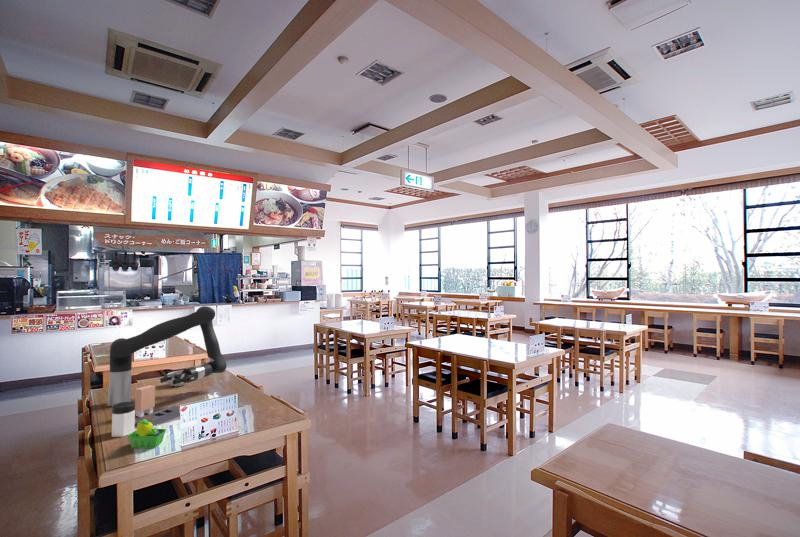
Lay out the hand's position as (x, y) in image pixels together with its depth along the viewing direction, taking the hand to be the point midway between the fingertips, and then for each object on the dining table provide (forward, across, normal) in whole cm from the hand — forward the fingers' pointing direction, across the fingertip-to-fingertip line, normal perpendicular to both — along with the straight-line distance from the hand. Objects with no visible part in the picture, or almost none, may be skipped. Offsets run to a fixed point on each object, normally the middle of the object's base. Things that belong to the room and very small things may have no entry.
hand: (167, 381), depth 201 cm
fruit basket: (+35, +32, +13) cm, 49 cm away
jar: (+30, +11, +13) cm, 35 cm away
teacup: (-32, -29, +13) cm, 45 cm away
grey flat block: (+12, +12, +13) cm, 21 cm away
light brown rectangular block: (+12, 0, +13) cm, 17 cm away
